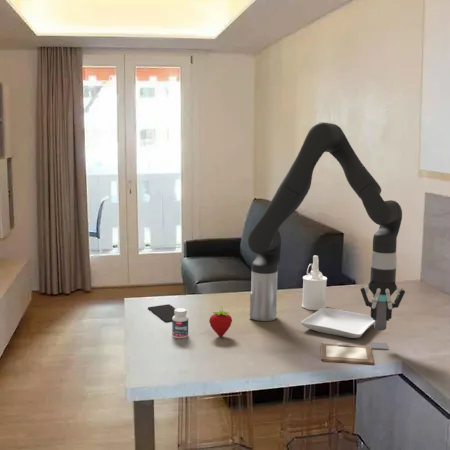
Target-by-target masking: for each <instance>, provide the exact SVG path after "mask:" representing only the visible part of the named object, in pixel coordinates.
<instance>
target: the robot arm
mask: <svg viewBox="0 0 450 450" xmlns="http://www.w3.org/2000/svg"><path fill="white" fill-rule="evenodd" d="M325 153H329V155H331V156H333V158H334V159H335V160H336V161H337V162H338V163H339V165H340V166H341V169H342V170H343V173H344V176H345V178H346V181H347V182H348V185H349V186H350V187H351V189H352V190H353V192H355V194H356V195H357V196H358V198H359V199H360V200H361V203H362V205H363V207H364V209H365V211H366V214H367V216H368V218H370V220H371V221H372V222H373V223H375V224H377V225H378V226H379V227H378V230H377V231H376V232H375V233H374V234H373V236H372V237H373V238H372V252H371V260H370V279H369V283H368V284H367V285H366V286H363V285H361V286H360V287H359V288H360V292H361V293H360V294H361V296H362V298H363V301H364V303H365V306H366V307H369V308H370V316H371V318H373V320H375V319H376V308H375V307H376V304H377V301H378V298H379V294H381V295H386V297H387V303H388V306H387V322H388V321H390V320H391V319H392V315H393V314H392V313H393V309H394V308H395V309H397V308H399V306H400V304H401V302H402V300H403V298H404V295H405V293H406V292H405V289H404V288H402V287H401V288H400V287H399V286H397V283H396V280H397V278H396V276H397V274H396V273H397V240H398V239H397V238H398V236H399V232H400V229H401V224H402V221H403V210H402V207H401V205H400V203H398V202H397V201H396V200H393V199H392V200H391V199H390V200H384V199H383V197H382V196H381V193H382V187H381V186H380V184H379V183H378V182H377V180H376V179H375V178H374V176H372V174H371V173H370V172H369V171H368V169H367V168H366V166H365V165H364V164H363V162H362V161H361V160H360V158H359V157H358V155H357V154H356V152H355V150H354V148H353V147H352V146H351V143H350V142H349V140H348V138H347V136H346V134H345V132H344V131H343V130H342V128H341V127H340V126H338V125H337V124H335V123H331V122H323V121H321V122H320V121H319V122H317V123H315V124H313V125H312V126H311V128H310V129H309V130H308V131H307V134H306V136H305V138H304V140H303V143H302V145H301V148H300V150H299V152H298V154H297V156H296V157H295V160H294V161H293V163H292V164H291V167H290V168H289V170H288V171H287V173H286V175H285V176H284V178H283V180H282V181H281V183H280V185H279V186H278V187H277V190H276V193H275V194H274V195H273V197H272V199H271V201H270V202H269V204H268V206H267V208H266V210H265V211H264V213H263V215H262V216H261V218H259V220H258V221H257V223H256V224H255V225H254V227H253V228H252V229H251V231H250V232H249V235H248V238H247V244H248V248H249V249H250V251H251V252H253V253H254V254H256V257H255V259H254V260H253V261H252V262H251V272H250V273H251V274H250V275H251V281H250V286H251V287H250V294H249V297H250V298H249V320H255V321H259V322H271V321H274V320H275V319H277V313H278V312H277V306H278V303H277V302H278V299H277V298H278V267H279V265H280V262H281V252H282V251H281V250H282V237H281V233H280V231H279V229H280V227H281V226H282V224H283V223H284V222H285V221H286V220H287V219H288V218H289V217H291V216H292V214H293V213H294V212H296V211H297V209H298V208H299V207H300V206H301V204H302V203H303V201H304V199H305V198H306V196H307V195H308V193H309V192H310V188H311V185H312V180H313V173H314V171H315V170H314V169H315V167H316V165H317V164H318V162H319V161H320V159H321V157H322V156H323V155H324V154H325ZM369 290H370V292H371V293H372V294H373V295H372V298H371V299H372V300H371V301H369V297H368V295H367V294H368V293H369ZM395 292H396V297H395V299H394V301H393V302H392V298H391V296H392V295H393V294H394V293H395Z"/></svg>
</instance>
